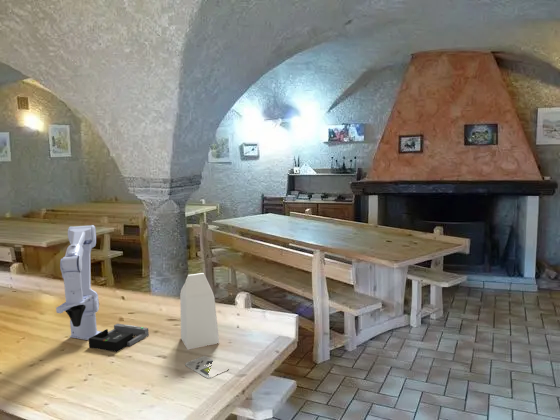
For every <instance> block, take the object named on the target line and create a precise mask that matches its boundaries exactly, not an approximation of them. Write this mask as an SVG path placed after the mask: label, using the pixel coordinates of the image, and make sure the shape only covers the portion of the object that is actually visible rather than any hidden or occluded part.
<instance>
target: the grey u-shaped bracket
mask: <svg viewBox="0 0 560 420" xmlns="http://www.w3.org/2000/svg"><path fill="white" fill-rule="evenodd" d="M119 331H122V332H129V333H133V337H134V336H135V337H134V338H133V339H132V340H130V341H128V342H127V346H126V347H132V346H133V345H134V344H137V343H138V342H140V341H142V340H143V339H145V338H146V337H148V336H149V335H150V334H149V327H143V326H137V325H131V324H124V323H123V324H122V323H116V324H114V325H113V329H112V330H110V331H109V330H108V335H113V334H115V333H118V332H119Z"/></svg>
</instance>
